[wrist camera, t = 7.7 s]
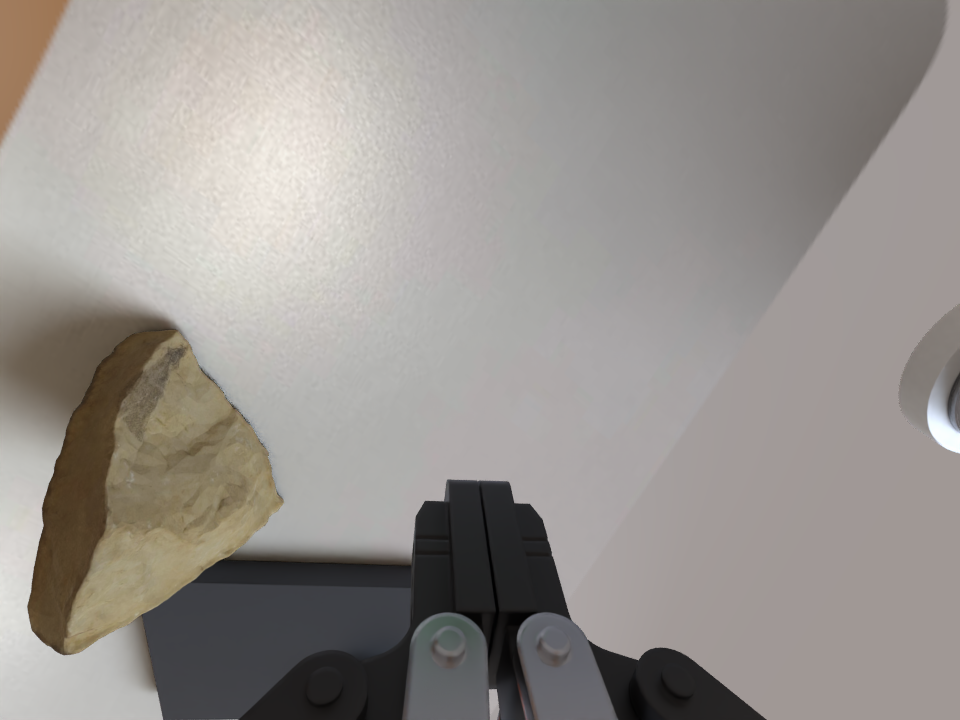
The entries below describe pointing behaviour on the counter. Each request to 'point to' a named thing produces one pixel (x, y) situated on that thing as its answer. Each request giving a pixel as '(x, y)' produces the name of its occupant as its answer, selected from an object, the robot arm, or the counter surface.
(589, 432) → the counter surface
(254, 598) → the scale
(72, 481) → the rock
